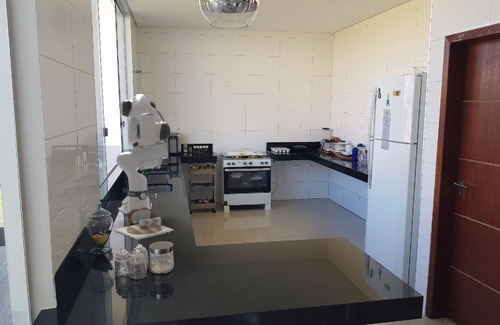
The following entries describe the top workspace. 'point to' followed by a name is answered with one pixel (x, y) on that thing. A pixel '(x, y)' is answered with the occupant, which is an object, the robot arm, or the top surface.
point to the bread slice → (139, 215)
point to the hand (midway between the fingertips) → (150, 169)
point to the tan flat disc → (146, 226)
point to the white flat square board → (141, 236)
